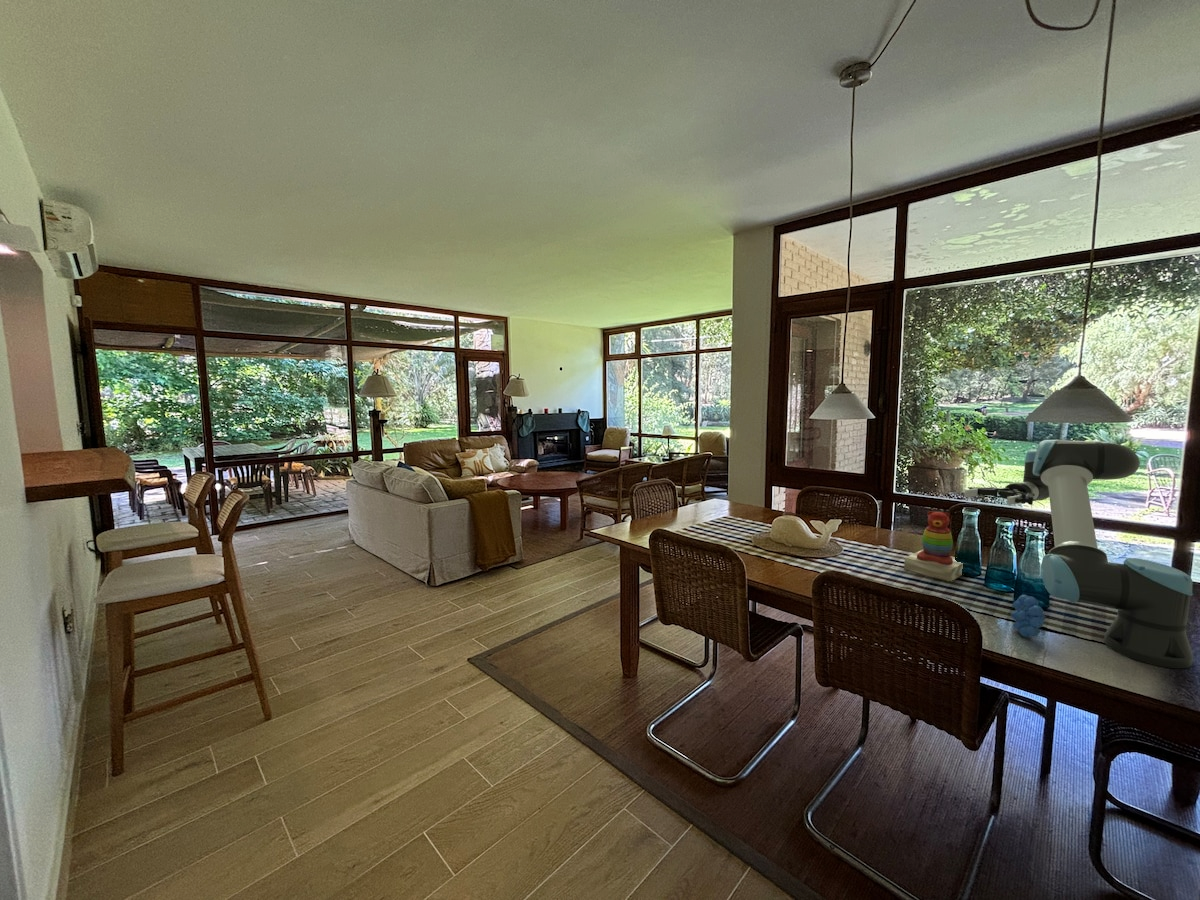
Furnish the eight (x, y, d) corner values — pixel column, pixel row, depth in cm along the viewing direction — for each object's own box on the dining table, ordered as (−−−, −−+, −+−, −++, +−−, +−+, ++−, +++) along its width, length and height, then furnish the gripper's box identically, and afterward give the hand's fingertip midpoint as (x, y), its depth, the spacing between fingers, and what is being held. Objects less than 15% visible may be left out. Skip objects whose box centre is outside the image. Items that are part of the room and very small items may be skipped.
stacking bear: (915, 559, 181) (918, 512, 179) (921, 552, 188) (924, 507, 186) (950, 566, 174) (954, 517, 171) (955, 558, 181) (959, 511, 178)
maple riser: (949, 583, 171) (951, 569, 171) (903, 570, 183) (904, 557, 183) (967, 573, 180) (968, 560, 179) (921, 561, 192) (922, 549, 191)
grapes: (1057, 649, 127) (1062, 606, 126) (1026, 646, 129) (1031, 603, 127) (1031, 628, 138) (1035, 587, 137) (1003, 625, 140) (1007, 585, 139)
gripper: (1061, 509, 172) (1026, 515, 164) (982, 496, 195) (948, 500, 187) (1063, 488, 171) (1028, 493, 163) (984, 477, 194) (950, 481, 186)
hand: (986, 497), depth 175 cm, fingers open, 13 cm apart
